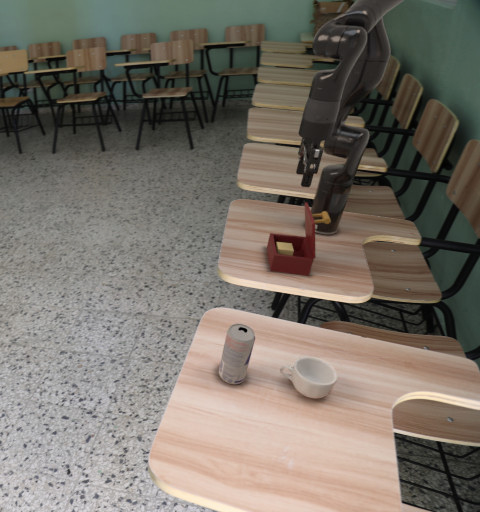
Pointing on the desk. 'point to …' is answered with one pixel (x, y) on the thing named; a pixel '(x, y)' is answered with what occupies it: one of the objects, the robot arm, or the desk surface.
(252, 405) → the desk surface
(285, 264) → the red cubby box
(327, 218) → the cover
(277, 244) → the tan cube
